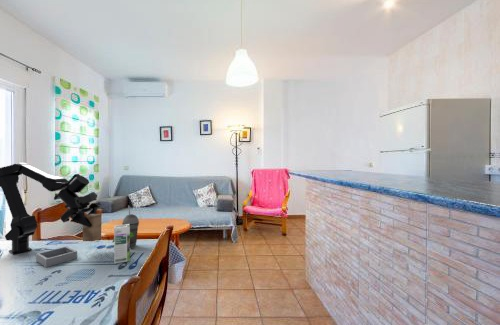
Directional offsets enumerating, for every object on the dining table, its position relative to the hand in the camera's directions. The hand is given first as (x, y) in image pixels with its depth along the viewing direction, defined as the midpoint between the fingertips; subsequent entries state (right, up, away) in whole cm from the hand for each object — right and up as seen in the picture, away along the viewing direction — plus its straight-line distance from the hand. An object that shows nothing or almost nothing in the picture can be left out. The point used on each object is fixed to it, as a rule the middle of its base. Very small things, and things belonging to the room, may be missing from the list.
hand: (95, 224), depth 109 cm
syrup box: (+16, -13, -8) cm, 22 cm away
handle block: (-1, -7, 0) cm, 7 cm away
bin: (-11, -13, -8) cm, 18 cm away
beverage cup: (+12, -13, +8) cm, 19 cm away
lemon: (+12, -13, +1) cm, 18 cm away
